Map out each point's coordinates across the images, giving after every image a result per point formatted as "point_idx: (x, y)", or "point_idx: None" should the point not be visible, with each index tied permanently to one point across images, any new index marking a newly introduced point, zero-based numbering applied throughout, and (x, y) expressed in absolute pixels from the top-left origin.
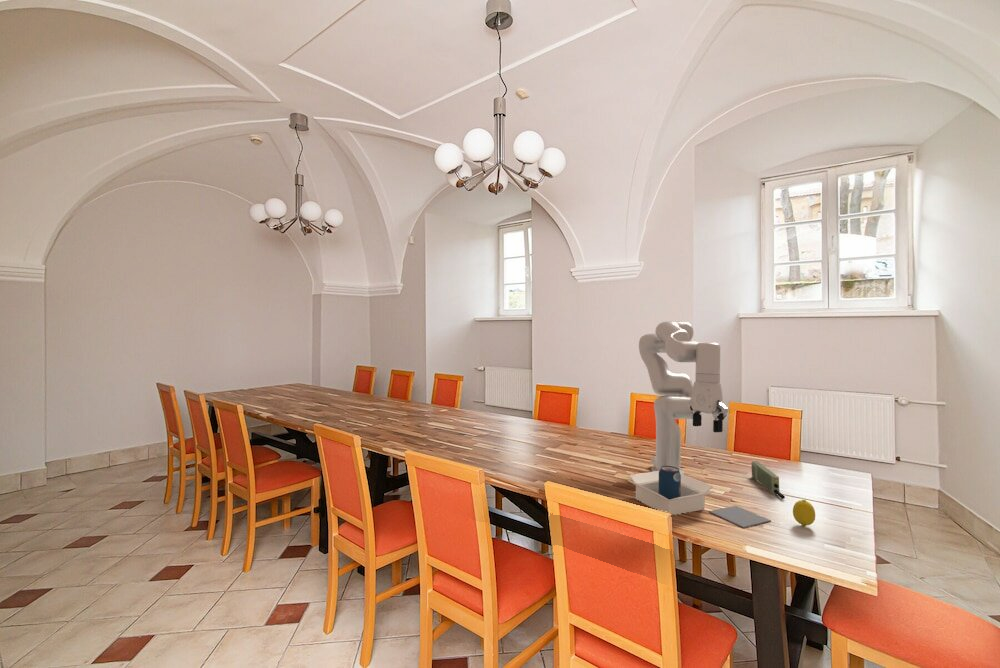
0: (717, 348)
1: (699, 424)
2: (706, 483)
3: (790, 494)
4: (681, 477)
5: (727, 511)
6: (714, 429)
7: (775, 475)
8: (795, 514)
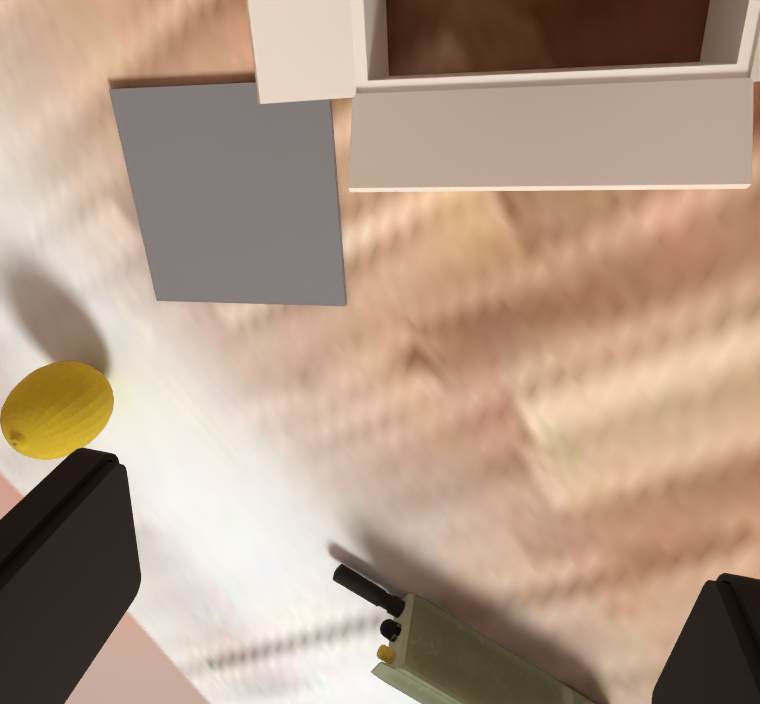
0: None
1: (671, 695)
2: (402, 187)
3: (377, 637)
4: (650, 144)
5: (293, 187)
6: (48, 478)
7: (398, 685)
8: (63, 369)
